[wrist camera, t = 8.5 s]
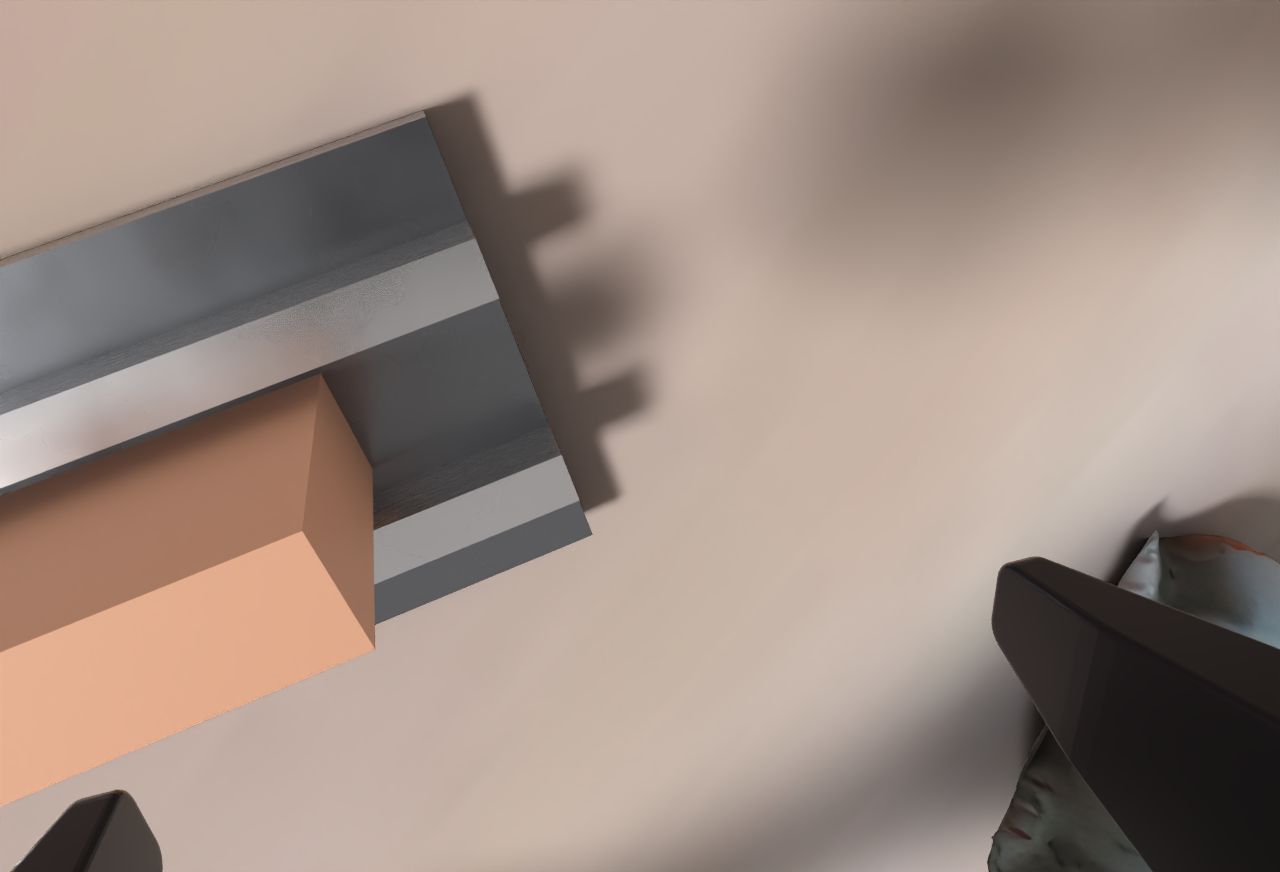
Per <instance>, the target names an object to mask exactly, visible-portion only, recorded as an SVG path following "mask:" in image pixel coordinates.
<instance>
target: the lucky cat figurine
mask: <svg viewBox="0 0 1280 872" xmlns="http://www.w3.org/2000/svg"><path fill="white" fill-rule="evenodd" d="M1146 539H1147V542H1146V544H1145V545H1144V547H1143V548H1142V550H1141V552H1140V553H1139V554H1138V556H1137V557H1136V558H1135V560H1134V561H1133V563H1132V564H1131V565H1130V567H1129V568H1128V569H1127V571H1126V572H1125V574H1124V575H1123V577H1122V579H1121V580H1120V582H1119V584H1118V587H1120V588H1123V589H1126V590H1128V591H1131V592H1133V593H1136V594H1139V595H1141V596H1144V597H1146V598H1149V599H1152V600H1154V601H1157V602H1159V603H1162V604H1165V605H1167V606H1170V607H1172V608H1175V609H1178V610H1180V611H1183V612H1185V613H1188V614H1191V615H1193V616H1196V617H1198V618H1201V619H1204V620H1206V621H1209V622H1211V623H1214V624H1217V625H1219V626H1222V627H1224V628H1227V629H1230V630H1232V631H1235V632H1237V633H1240V634H1243V635H1245V636H1248V637H1250V638H1253V639H1256V640H1258V641H1261V642H1263V643H1266V644H1269V645H1271V646H1274V647H1276V648H1279V649H1280V564H1279V563H1277V562H1276V561H1275V560H1273V559H1272V558H1270V557H1269V556H1267V555H1265V554H1263V553H1257V552H1255V551H1254V550H1252V549H1250V548H1249V547H1247V546H1246V545H1244V544H1242V543H1240V542H1238V541H1235V540H1231V539H1228V538H1224V537H1220V536H1209V535H1186V536H1178V537H1169V538H1159V535H1158V532H1157V530H1155V531H1154V532H1153V534H1152V535H1151V536H1150V538H1146ZM1016 787H1017V788H1016V791H1015V794H1014V796H1013V798H1012V801H1011V803H1010V806H1009V808H1008V810H1007V812H1006V814H1005V816H1004V818H1003V820H1002V822H1001V824H1000V826H999V829H998V831H997V832H995V834H994V836H992V839H993V844H992V848H991V851H990V854H989V857H988V861H987V863H988V870H989V872H1152V871H1151V870H1150V869H1149V867H1148V866H1147V865H1146V863H1145V862H1144V861H1143V859H1142V858H1141V857H1140V855H1139V854H1138V853H1137V851H1136V850H1135V849H1134V847H1133V846H1132V845H1131V843H1130V842H1129V841H1128V839H1127V838H1126V837H1125V835H1124V834H1123V833H1122V831H1121V830H1120V829H1119V827H1118V826H1117V825H1116V823H1115V822H1114V821H1113V819H1112V818H1111V817H1110V815H1109V814H1108V813H1107V811H1106V810H1105V809H1104V807H1103V806H1102V805H1101V803H1100V802H1099V801H1098V799H1097V798H1096V797H1095V795H1094V794H1093V793H1092V791H1091V790H1090V789H1089V787H1088V786H1087V785H1086V783H1085V782H1084V781H1083V779H1082V778H1081V776H1080V775H1079V774H1078V772H1077V771H1076V769H1075V768H1074V767H1073V765H1072V764H1071V762H1070V761H1069V759H1068V758H1067V756H1066V755H1065V753H1064V752H1063V750H1062V749H1061V747H1060V746H1059V744H1058V742H1057V741H1056V739H1055V738H1054V736H1053V734H1052V733H1051V731H1050V729H1049V728H1048V726H1047V724H1046V725H1045V726H1044V728H1043V729H1042V731H1041V733H1040V734H1039V736H1038V737H1037V739H1036V741H1035V742H1034V744H1033V746H1032V748H1031V750H1030V752H1029V755H1028V761H1027V763H1026V765H1025V767H1024V768H1023V770H1022V773H1021V775H1020V778H1019V781H1018V783H1017V786H1016Z"/></svg>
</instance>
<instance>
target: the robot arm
mask: <svg viewBox="0 0 1280 872" xmlns="http://www.w3.org/2000/svg"><path fill="white" fill-rule="evenodd" d="M992 630H993V634H994V636H995V639H996V641H997V643H998V645H999V647H1000V648H1001V650H1002V652H1003V653H1004V655H1005V657H1006V658H1007V660H1008V662H1009V663H1010V665H1011V666H1012V668H1013V670H1014V671H1015V673H1016V675H1017V676H1018V678H1019V680H1020V681H1021V683H1022V685H1023V686H1024V688H1025V690H1026V691H1027V693H1028V695H1029V696H1030V698H1031V700H1032V701H1033V703H1034V705H1035V706H1036V708H1037V710H1038V711H1039V713H1040V714H1041V716H1042V718H1043V719H1044V721H1045V723H1046V724H1047V726H1048V728H1049V729H1050V731H1051V733H1052V734H1053V736H1054V738H1055V739H1056V741H1057V742H1058V744H1059V746H1060V747H1061V749H1062V750H1063V752H1064V753H1065V755H1066V756H1067V758H1068V759H1069V761H1070V762H1071V764H1072V765H1073V767H1074V768H1075V769H1076V771H1077V772H1078V774H1079V775H1080V776H1081V778H1082V779H1083V781H1084V782H1085V783H1086V785H1087V786H1088V787H1089V789H1090V790H1091V791H1092V793H1093V794H1094V795H1095V797H1096V798H1097V799H1098V801H1099V802H1100V803H1101V805H1102V806H1103V807H1104V809H1105V810H1106V811H1107V813H1108V814H1109V815H1110V817H1111V818H1112V819H1113V821H1114V822H1115V823H1116V825H1117V826H1118V827H1119V829H1120V830H1121V831H1122V833H1123V834H1124V835H1125V837H1126V838H1127V839H1128V841H1129V842H1130V843H1131V845H1132V846H1133V847H1134V849H1135V850H1136V851H1137V853H1138V854H1139V855H1140V857H1141V858H1142V859H1143V861H1144V862H1145V863H1146V865H1147V866H1148V867H1149V869H1150V870H1151V871H1152V872H1280V649H1279V648H1276V647H1274V646H1271V645H1269V644H1266V643H1263V642H1261V641H1258V640H1256V639H1253V638H1250V637H1248V636H1245V635H1243V634H1240V633H1237V632H1235V631H1232V630H1230V629H1227V628H1224V627H1222V626H1219V625H1217V624H1214V623H1211V622H1209V621H1206V620H1204V619H1201V618H1198V617H1196V616H1193V615H1191V614H1188V613H1185V612H1183V611H1180V610H1178V609H1175V608H1172V607H1170V606H1167V605H1165V604H1162V603H1159V602H1157V601H1154V600H1152V599H1149V598H1146V597H1144V596H1141V595H1139V594H1136V593H1133V592H1131V591H1128V590H1126V589H1123V588H1120V587H1118V586H1115V585H1113V584H1110V583H1107V582H1105V581H1102V580H1100V579H1097V578H1094V577H1092V576H1089V575H1087V574H1084V573H1081V572H1079V571H1076V570H1074V569H1071V568H1068V567H1066V566H1063V565H1061V564H1058V563H1055V562H1053V561H1050V560H1048V559H1045V558H1042V557H1029V558H1025V559H1021V560H1017V561H1013V562H1009V563H1006V564H1005V565H1003V566H1002V567H1001V569H1000V570H999V573H998V577H997V584H996V591H995V598H994V605H993V612H992ZM162 871H163V865H162V855H161V851H160V847H159V845H158V842H157V840H156V838H155V837H154V835H153V833H152V831H151V829H150V828H149V826H148V824H147V822H146V820H145V819H144V817H143V815H142V813H141V811H140V810H139V808H138V806H137V804H136V802H135V801H134V799H133V798H132V796H131V795H130V794H129V793H128V792H126V791H124V790H114V791H110V792H106V793H102V794H98V795H94V796H90V797H86V798H82V799H80V800H78V801H76V802H74V803H73V804H71V805H70V806H69V807H68V808H67V809H66V810H65V811H64V812H63V813H62V815H61V816H60V817H59V818H58V819H57V820H56V821H55V822H54V824H53V825H52V826H51V827H50V828H49V829H48V830H47V831H46V832H45V834H44V835H43V836H42V837H41V838H40V839H39V840H38V841H37V843H36V844H35V845H34V846H33V847H32V848H31V849H30V850H29V852H28V853H27V854H26V855H25V856H24V857H23V858H22V859H21V860H20V862H19V863H18V864H17V865H16V866H15V867H14V868H13V869H12V871H11V872H162Z"/></svg>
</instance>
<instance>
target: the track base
mask: <svg viewBox="0 0 1280 872" xmlns="http://www.w3.org/2000/svg"><path fill="white" fill-rule="evenodd" d="M320 373H321V375H322V377H323V378H324V380H325V382H326V384H327V386H328V388H329V389H330V391H331V393H332V395H333V397H334V399H335V401H336V402H337V404H338V406H339V408H340V410H341V412H342V414H343V415H344V417H345V419H346V421H347V423H348V425H349V427H350V428H351V430H352V432H353V434H354V436H355V438H356V439H357V441H358V443H359V445H360V447H361V449H362V451H363V452H364V454H365V456H366V458H367V460H368V462H369V464H370V465H371V467H372V469H373V535H374V603H375V625H376V624H378V623H381V622H383V621H385V620H388V619H390V618H393V617H395V616H397V615H400V614H402V613H405V612H407V611H410V610H412V609H414V608H417V607H419V606H422V605H424V604H426V603H429V602H431V601H434V600H436V599H439V598H441V597H443V596H446V595H448V594H451V593H453V592H455V591H458V590H460V589H463V588H465V587H468V586H470V585H472V584H475V583H477V582H480V581H482V580H484V579H487V578H489V577H492V576H494V575H496V574H499V573H501V572H504V571H506V570H509V569H511V568H513V567H516V566H518V565H521V564H523V563H525V562H528V561H530V560H533V559H535V558H538V557H540V556H542V555H545V554H547V553H550V552H552V551H554V550H557V549H559V548H562V547H564V546H566V545H569V544H571V543H574V542H576V541H579V540H581V539H583V538H586V537H588V536H591V535H593V534H592V532H591V529H590V527H589V524H588V522H587V519H586V517H585V514H584V512H583V509H582V507H581V504H580V502H579V497H578V495H577V492H576V490H575V487H574V485H573V482H572V480H571V477H570V475H569V472H568V470H567V467H566V465H565V462H564V460H563V457H562V455H561V452H560V450H559V448H558V445H557V443H556V440H555V438H554V436H553V433H552V431H551V429H550V426H549V424H548V421H547V419H546V416H545V414H544V411H543V409H542V406H541V404H540V401H539V399H538V396H537V394H536V391H535V389H534V386H533V384H532V381H531V379H530V376H529V374H528V371H527V369H526V366H525V364H524V361H523V359H522V356H521V354H520V351H519V349H518V346H517V344H516V341H515V339H514V336H513V334H512V331H511V329H510V326H509V324H508V321H507V319H506V316H505V314H504V311H503V309H502V306H501V303H500V301H499V296H498V294H497V291H496V289H495V286H494V284H493V281H492V279H491V276H490V274H489V271H488V269H487V266H486V264H485V261H484V258H483V256H482V253H481V251H480V248H479V246H478V243H477V241H476V238H475V236H474V234H473V232H472V229H471V227H470V225H469V223H468V221H467V218H466V216H465V213H464V211H463V208H462V206H461V203H460V201H459V198H458V196H457V193H456V191H455V188H454V186H453V183H452V180H451V178H450V175H449V173H448V170H447V168H446V165H445V163H444V160H443V158H442V155H441V153H440V150H439V148H438V145H437V143H436V140H435V138H434V135H433V133H432V130H431V128H430V125H429V123H428V120H427V118H426V115H425V113H424V111H423V110H422V111H419V112H417V113H414V114H411V115H408V116H405V117H402V118H400V119H397V120H394V121H391V122H388V123H386V124H383V125H380V126H377V127H374V128H371V129H369V130H366V131H363V132H360V133H357V134H354V135H352V136H349V137H346V138H343V139H340V140H338V141H335V142H332V143H329V144H326V145H323V146H321V147H318V148H315V149H312V150H309V151H307V152H304V153H301V154H298V155H295V156H292V157H290V158H287V159H284V160H281V161H278V162H276V163H273V164H270V165H267V166H264V167H261V168H259V169H256V170H253V171H250V172H247V173H245V174H242V175H239V176H236V177H233V178H230V179H228V180H225V181H222V182H219V183H216V184H214V185H211V186H208V187H205V188H202V189H199V190H197V191H194V192H191V193H188V194H185V195H182V196H180V197H177V198H174V199H171V200H168V201H166V202H163V203H160V204H157V205H154V206H151V207H149V208H146V209H143V210H140V211H137V212H135V213H132V214H129V215H126V216H123V217H120V218H118V219H115V220H112V221H109V222H106V223H104V224H101V225H98V226H95V227H92V228H89V229H87V230H84V231H81V232H78V233H75V234H73V235H70V236H67V237H64V238H61V239H58V240H56V241H53V242H50V243H47V244H44V245H42V246H39V247H36V248H33V249H30V250H27V251H25V252H22V253H19V254H16V255H13V256H10V257H8V258H5V259H2V260H0V496H3V495H5V494H8V493H10V492H13V491H16V490H18V489H21V488H23V487H26V486H29V485H31V484H34V483H36V482H39V481H42V480H44V479H47V478H49V477H52V476H55V475H57V474H60V473H62V472H65V471H68V470H70V469H73V468H75V467H78V466H81V465H83V464H86V463H88V462H91V461H94V460H96V459H99V458H102V457H104V456H107V455H109V454H112V453H115V452H117V451H120V450H122V449H125V448H128V447H130V446H133V445H135V444H138V443H141V442H143V441H146V440H148V439H151V438H154V437H156V436H159V435H161V434H164V433H167V432H169V431H172V430H174V429H177V428H180V427H182V426H185V425H187V424H190V423H193V422H195V421H198V420H200V419H203V418H206V417H208V416H211V415H213V414H216V413H219V412H221V411H224V410H226V409H229V408H232V407H234V406H237V405H239V404H242V403H245V402H247V401H250V400H252V399H255V398H258V397H260V396H263V395H265V394H268V393H271V392H273V391H276V390H278V389H281V388H284V387H286V386H289V385H291V384H294V383H297V382H299V381H302V380H304V379H307V378H310V377H312V376H315V375H317V374H320Z"/></svg>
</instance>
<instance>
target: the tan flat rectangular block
mask: <svg viewBox="0 0 1280 872" xmlns="http://www.w3.org/2000/svg"><path fill="white" fill-rule="evenodd" d="M373 650H375V603H374V535H373V469H372V467H371V465H370V464H369V462H368V460H367V458H366V456H365V454H364V452H363V451H362V449H361V447H360V445H359V443H358V441H357V439H356V438H355V436H354V434H353V432H352V430H351V428H350V427H349V425H348V423H347V421H346V419H345V417H344V415H343V414H342V412H341V410H340V408H339V406H338V404H337V402H336V401H335V399H334V397H333V395H332V393H331V391H330V389H329V388H328V386H327V384H326V382H325V380H324V378H323V377H322V375H321V373H320V374H317V375H315V376H312V377H310V378H307V379H304V380H302V381H299V382H297V383H294V384H291V385H289V386H286V387H284V388H281V389H278V390H276V391H273V392H271V393H268V394H265V395H263V396H260V397H258V398H255V399H252V400H250V401H247V402H245V403H242V404H239V405H237V406H234V407H232V408H229V409H226V410H224V411H221V412H219V413H216V414H213V415H211V416H208V417H206V418H203V419H200V420H198V421H195V422H193V423H190V424H187V425H185V426H182V427H180V428H177V429H174V430H172V431H169V432H167V433H164V434H161V435H159V436H156V437H154V438H151V439H148V440H146V441H143V442H141V443H138V444H135V445H133V446H130V447H128V448H125V449H122V450H120V451H117V452H115V453H112V454H109V455H107V456H104V457H102V458H99V459H96V460H94V461H91V462H88V463H86V464H83V465H81V466H78V467H75V468H73V469H70V470H68V471H65V472H62V473H60V474H57V475H55V476H52V477H49V478H47V479H44V480H42V481H39V482H36V483H34V484H31V485H29V486H26V487H23V488H21V489H18V490H16V491H13V492H10V493H8V494H5V495H3V496H0V807H1V806H3V805H6V804H8V803H10V802H13V801H15V800H17V799H20V798H22V797H25V796H27V795H29V794H32V793H34V792H37V791H39V790H41V789H44V788H46V787H48V786H51V785H53V784H56V783H58V782H60V781H63V780H65V779H68V778H70V777H72V776H75V775H77V774H79V773H82V772H84V771H87V770H89V769H91V768H94V767H96V766H99V765H101V764H103V763H106V762H108V761H110V760H113V759H115V758H118V757H120V756H122V755H125V754H127V753H129V752H132V751H134V750H137V749H139V748H141V747H144V746H146V745H149V744H151V743H153V742H156V741H158V740H160V739H163V738H165V737H168V736H170V735H172V734H175V733H177V732H180V731H182V730H184V729H187V728H189V727H191V726H194V725H196V724H199V723H201V722H203V721H206V720H208V719H211V718H213V717H215V716H218V715H220V714H222V713H225V712H227V711H230V710H232V709H234V708H237V707H239V706H242V705H244V704H246V703H249V702H251V701H253V700H256V699H258V698H261V697H263V696H265V695H268V694H270V693H272V692H275V691H277V690H280V689H282V688H284V687H287V686H289V685H292V684H294V683H296V682H299V681H301V680H303V679H306V678H308V677H311V676H313V675H315V674H318V673H320V672H323V671H325V670H327V669H330V668H332V667H334V666H337V665H339V664H342V663H344V662H346V661H349V660H351V659H354V658H356V657H358V656H361V655H363V654H365V653H368V652H370V651H373Z"/></svg>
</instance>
